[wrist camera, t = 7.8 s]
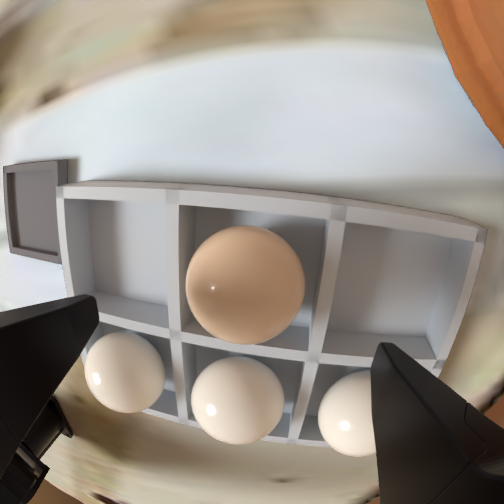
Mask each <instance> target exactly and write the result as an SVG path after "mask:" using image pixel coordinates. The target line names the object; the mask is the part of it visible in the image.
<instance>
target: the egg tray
mask: <svg viewBox="0 0 504 504" xmlns="http://www.w3.org/2000/svg"><path fill="white" fill-rule="evenodd" d="M56 205H57V220H58V232H59V242H60V251H61V259H62V266H63V273H64V279H65V285H66V291H67V297H73V296H78V295H82V294H87V295H91V296H94V297H95V298H96V301H97V306H98V312H99V324H98V326H97V328H96V329H95V331H94V333H93V334H92V336H91V338H90V339H89V341H88V343H87V344H86V346H85V348H84V349H83V351H82V353H81V357H82V361H83V364H84V367H85V361H86V357H87V354H88V352H89V350H90V348H91V347H92V346H93V344H94V343H95V342H96V341H97V340H99V339H100V338H101V337H103V336H105V335H107V334H110V333H114V332H130V333H134V334H137V335H139V336H141V337H143V338H145V339H146V340H148V341H149V342H150V343H151V344H152V345H153V346H154V347H155V348H156V349H157V351H158V352H159V354H160V355H161V357H162V359H163V362H164V366H165V371H166V380H165V386H164V389H163V391H162V393H161V395H160V397H159V398H158V400H157V401H156V402H155V403H154V404H153V405H151V406H150V407H148V408H147V409H145V410H142V411H141V412H144V413H147V414H150V415H153V416H157V417H160V418H163V419H167V420H170V421H174V422H177V423H181V424H185V425H189V426H193V427H197V428H201V426H200V425H199V424H198V422H197V421H196V419H195V416H194V414H193V411H192V406H191V394H192V389H193V386H194V383H195V381H196V379H197V378H198V376H199V375H200V373H201V372H202V371H203V370H204V369H205V368H206V367H207V366H209V365H210V364H212V363H213V362H215V361H217V360H219V359H222V358H226V357H231V356H244V357H249V358H253V359H255V360H258V361H260V362H262V363H263V364H265V365H266V366H268V367H269V368H270V369H271V370H272V371H273V372H274V373H275V374H276V376H277V377H278V379H279V380H280V382H281V385H282V387H283V391H284V397H285V405H284V411H283V414H282V417H281V419H280V421H279V423H278V424H277V426H276V427H275V428H274V429H273V430H272V431H271V432H270V433H269V434H268V435H267V436H265V437H263V438H262V439H260V440H263V441H270V442H278V443H286V444H295V445H306V446H318V447H331V446H330V445H329V444H328V443H327V442H326V441H325V439H324V438H323V436H322V434H321V432H320V429H319V424H318V411H319V407H320V403H321V401H322V399H323V397H324V395H325V393H326V392H327V391H328V389H329V388H330V387H331V386H332V385H333V384H334V383H335V382H336V381H338V380H339V379H340V378H342V377H344V376H346V375H348V374H350V373H353V372H357V371H363V370H371V364H372V361H373V358H374V355H375V352H376V349H377V346H378V344H379V343H380V342H391V343H394V344H395V345H396V346H398V347H399V348H400V349H401V350H403V351H404V352H405V353H407V354H408V355H409V356H410V357H412V358H413V359H414V360H416V361H417V362H418V363H419V364H421V365H422V366H423V367H424V368H426V369H427V370H428V371H429V372H431V373H432V374H433V375H435V376H436V377H437V378H438V376H439V374H440V372H441V370H442V368H443V366H444V364H445V361H446V359H447V357H448V355H449V352H450V350H451V347H452V345H453V343H454V340H455V338H456V335H457V333H458V330H459V327H460V325H461V322H462V319H463V317H464V314H465V311H466V308H467V305H468V302H469V299H470V296H471V293H472V289H473V286H474V283H475V279H476V276H477V272H478V269H479V265H480V261H481V257H482V253H483V249H484V245H485V240H486V236H487V231H488V230H487V229H485V228H483V227H481V226H478V225H476V224H474V223H472V222H470V221H468V220H466V219H464V218H461V217H456V216H451V215H446V214H441V213H435V212H430V211H424V210H419V209H413V208H407V207H401V206H395V205H389V204H382V203H376V202H369V201H362V200H355V199H348V198H341V197H333V196H325V195H317V194H308V193H299V192H290V191H280V190H270V189H259V188H248V187H235V186H222V185H207V184H190V183H170V182H144V181H81V182H76V183H71V184H66V185H61V186H56ZM241 225H252V226H258V227H262V228H265V229H268V230H270V231H272V232H274V233H276V234H277V235H279V236H280V237H282V238H283V239H284V240H285V241H286V242H287V243H288V244H289V245H290V246H291V247H292V248H293V250H294V251H295V252H296V254H297V256H298V257H299V259H300V261H301V264H302V267H303V271H304V276H305V295H304V299H303V303H302V306H301V308H300V311H299V313H298V314H297V316H296V318H295V319H294V321H293V322H292V323H291V324H290V325H289V326H288V327H287V328H286V329H285V330H284V331H283V332H282V333H280V334H279V335H277V336H276V337H274V338H272V339H270V340H268V341H265V342H262V343H258V344H251V345H240V344H233V343H229V342H226V341H223V340H221V339H219V338H217V337H215V336H213V335H212V334H210V333H209V332H208V331H207V330H205V329H204V328H203V327H202V326H201V324H200V323H199V322H198V321H197V320H196V318H195V317H194V315H193V313H192V311H191V309H190V306H189V304H188V300H187V296H186V288H185V284H186V274H187V269H188V266H189V263H190V261H191V259H192V257H193V255H194V253H195V252H196V250H197V249H198V248H199V246H200V245H201V244H202V243H203V242H204V241H205V240H206V239H208V238H209V237H210V236H212V235H213V234H215V233H217V232H219V231H220V230H223V229H226V228H229V227H233V226H241ZM201 429H202V428H201Z"/></svg>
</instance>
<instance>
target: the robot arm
mask: <svg viewBox="0 0 504 504" xmlns="http://www.w3.org/2000/svg"><path fill="white" fill-rule="evenodd" d="M98 324H99V312H98V306H97V301H96V298H95V297H94V296H91V295H87V294H82V295H78V296H73V297H68V298H64V299H59V300H55V301H50V302H45V303H41V304H36V305H31V306H27V307H22V308H17V309H13V310H8V311H3V312H0V504H27V503H28V502H29V501H30V500H31V499H32V497H33V496H34V495H35V493H36V491H37V490H38V488H39V486H40V484H41V483H42V481H43V479H44V478H45V476H46V474H47V473H48V471H49V469H50V468H49V467H48V466H47V465H45V464H43V463H42V462H41V461H40V459H41V457H42V456H43V455H44V454H45V452H46V451H47V450H48V449H49V447H50V446H51V445H52V444H53V442H54V441H55V440H56V439H57V438H58V436H59V435H60V434H61V433H62V434H64V435H65V436H67V437H69V438H72V436H73V434H72V432H71V430H70V428H69V426H68V424H67V422H66V420H65V418H64V416H63V413H62V411H61V409H60V407H59V405H58V402H57V401H56V399H55V398H53V397H52V394H53V393H54V392H55V390H56V389H57V387H58V386H59V384H60V383H61V381H62V380H63V379H64V377H65V376H66V374H67V373H68V372H69V370H70V369H71V367H72V366H73V365H74V363H75V362H76V360H77V359H78V357H79V356H80V354H81V353H82V351H83V349H84V348H85V346H86V344H87V343H88V341H89V339H90V338H91V336H92V334H93V333H94V331H95V329H96V328H97V326H98ZM370 376H371V412H372V423H373V430H374V438H375V447H376V457H377V467H378V478H379V491H380V504H504V429H503V428H502V427H500V426H499V425H497V424H496V423H495V422H493V421H492V420H490V419H489V418H488V417H486V416H485V415H484V414H482V413H481V412H480V411H478V410H477V409H476V408H475V407H473V406H472V405H471V404H470V403H467V401H466V400H465V399H463V398H462V397H461V396H460V395H458V394H457V393H456V392H455V391H453V390H452V389H451V388H450V387H448V386H447V385H446V384H445V383H443V382H442V381H441V380H440V379H438V378H437V377H436V376H435V375H433V374H432V373H431V372H429V371H428V370H427V369H426V368H424V367H423V366H422V365H421V364H419V363H418V362H417V361H416V360H414V359H413V358H412V357H410V356H409V355H408V354H407V353H405V352H404V351H403V350H401V349H400V348H399V347H398V346H396V345H395V344H394V343H391V342H380V343H379V344H378V346H377V349H376V352H375V355H374V358H373V361H372V364H371V370H370Z"/></svg>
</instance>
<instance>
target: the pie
mask: <svg viewBox="0 0 504 504" xmlns="http://www.w3.org/2000/svg"><path fill="white" fill-rule="evenodd" d="M426 3H427V5H428V8H429V10H430V13H431V16H432V19H433V22H434V25H435V28H436V30H437V33H438V35H439V37H440V39H441V42H442V45H443V48H444V51H445V53H446V55H447V57H448V59H449V61H450V64H451V66H452V69H453V71H454V74H455V77H456V78H457V80H458V81H459V83H460V84H461V86H462V87H463V89H464V91H465V92H466V94H467V95H468V97H469V99H470V100H471V102H472V104H473V106H474V107H475V108H476V109H477V111H478V112H479V114H480V116H481V117H482V119H483V121H484V123H485V124H486V126H487V127H488V128H489V129H490V131H491V132H492V133H493V134H494V136H495V137H496V138H497V140H498V141H499V142H500V144H501V145H502V146H503V148H504V0H426Z"/></svg>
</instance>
